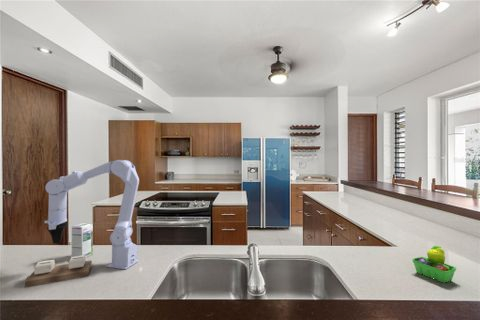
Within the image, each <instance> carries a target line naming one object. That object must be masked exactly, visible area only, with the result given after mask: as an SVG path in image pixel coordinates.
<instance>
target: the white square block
mask: <svg viewBox="0 0 480 320" xmlns="http://www.w3.org/2000/svg"><path fill="white" fill-rule="evenodd" d="M86 259H87V257H86V255H82V256H75V257H72V256H71V258H70V260H69V261H68V264H69V269H71V268H77V267H83V266H84V264H85V262H86V261H87V260H86Z"/></svg>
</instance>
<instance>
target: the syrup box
mask: <svg viewBox="0 0 480 320" xmlns="http://www.w3.org/2000/svg"><path fill="white" fill-rule="evenodd" d="M93 229H94V228H93V223H89V222H86V223H85V222H84V223H83V222H82V223H80V224H75V225H73V226H71V257H75V256H82V255H86V258H87V257H90V256H92V255H94V254H93V253H94V250H93V249H94V247H93V246H94V245H93V244H94V241H93V239H94V236H93V235H94V234H93V233H94V231H93Z"/></svg>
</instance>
